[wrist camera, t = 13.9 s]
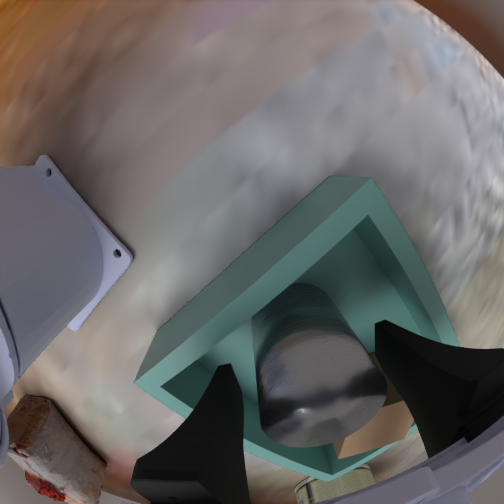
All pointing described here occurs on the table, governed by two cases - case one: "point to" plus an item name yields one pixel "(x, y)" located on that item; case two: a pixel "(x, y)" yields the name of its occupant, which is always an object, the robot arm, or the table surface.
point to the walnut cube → (379, 425)
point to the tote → (279, 278)
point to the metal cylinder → (312, 370)
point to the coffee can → (334, 485)
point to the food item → (53, 453)
